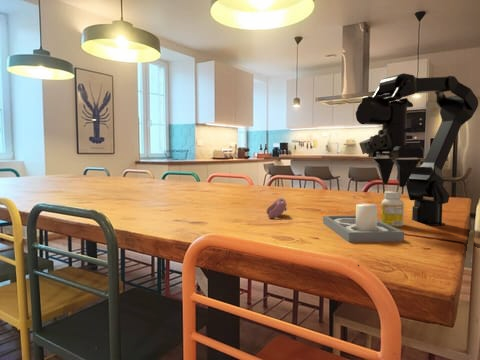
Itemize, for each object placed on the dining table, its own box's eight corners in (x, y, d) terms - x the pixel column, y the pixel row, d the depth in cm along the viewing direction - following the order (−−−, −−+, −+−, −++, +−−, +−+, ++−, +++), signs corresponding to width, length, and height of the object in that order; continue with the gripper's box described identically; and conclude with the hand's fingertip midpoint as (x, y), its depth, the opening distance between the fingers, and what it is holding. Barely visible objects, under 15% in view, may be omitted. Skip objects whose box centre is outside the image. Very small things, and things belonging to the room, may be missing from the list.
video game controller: (280, 224, 105) (290, 203, 104) (267, 217, 105) (277, 197, 104) (277, 218, 115) (286, 199, 114) (265, 212, 115) (274, 193, 114)
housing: (366, 226, 94) (366, 215, 93) (403, 245, 74) (404, 231, 73) (323, 226, 93) (323, 215, 93) (348, 246, 73) (348, 232, 73)
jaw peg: (371, 232, 81) (372, 203, 81) (380, 237, 77) (381, 206, 76) (352, 233, 81) (353, 203, 80) (360, 238, 76) (360, 206, 76)
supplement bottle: (399, 231, 87) (400, 193, 86) (377, 228, 90) (378, 192, 90) (405, 227, 91) (406, 191, 90) (384, 225, 94) (385, 190, 94)
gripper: (350, 128, 98) (350, 182, 99) (379, 122, 79) (377, 189, 80) (389, 127, 98) (388, 182, 99) (426, 121, 79) (424, 188, 81)
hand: (393, 185), depth 90 cm, fingers open, 9 cm apart
